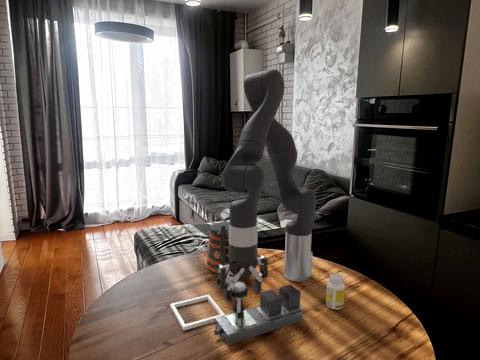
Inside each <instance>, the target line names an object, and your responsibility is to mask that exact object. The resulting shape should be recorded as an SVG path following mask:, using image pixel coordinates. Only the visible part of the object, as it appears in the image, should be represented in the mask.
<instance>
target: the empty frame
mask: <svg viewBox="0 0 480 360" xmlns="http://www.w3.org/2000/svg"><path fill="white" fill-rule="evenodd" d="M203 301H208V303H209V304H210V305H211V306H212V308H213V309H214V310H215V312H216V313H217V314H218V315H214V316H211V317H206V318H204V319H203V318H202V319H200V320H197V321H192V322H189V323H185V322H184V319H183V318H182V316H181V315H180V313H179V311H178V309H177V308H179V307H184V306H187V305H189V306H190V305H191V304H197V303H199V302H203ZM169 305H170V309H171V311H172V313H173V315H174V316H175V319H176V320H177V322H178V324H179V325H180V327H181V330H182V331H183V332H184V331H187V330H190V329H194V328H197V327H201V326H205V325H208V324H211V323H215V318H218V317H221V316H225V315H226V314H225V313H224V312H223V310H222V309H221V308H220V306H219V305H218V304H217V303H216V302H215V301H214V299H213V298H212V297H211V296H210V294H206V295H201V296H196V297H194V298H190V299H185V300H182V301H177V302H173V303H170V304H169Z"/></svg>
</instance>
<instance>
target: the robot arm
mask: <svg viewBox="0 0 480 360" xmlns="http://www.w3.org/2000/svg"><path fill="white" fill-rule="evenodd" d="M243 91H244V95H245V99H246V100H247V103H248V105H249V107H250V109H251V112H252V114H253V115H252V116H251V117H250V118H249V119H248V121H246V124H244V127H243V128H242V130H241V133H240V135H239V136H240V137H239V140H238V142H237V143H238V144H237V147H236V150H235V151H234V153H233V155H232V156H231V158H230V159H229V160H228V162H227V163H226V165H225V167H224V169H223V172H222V174H221V175H222V176H221V182H222V185H223V188H224V189H225V190H226V191H229V192H234V193H246V194H248V195H247V198H244V199H237V200H234V201H231V203H230V204H229V222H230V227H229V263H228V265H223V266H222V265H221V264H219V265H218V270H217V273H216V286H217V287H218V288H219V289H220V290H223V298H224V299H225V301H227V302H228V303H232V302H233V297H232V289H231V288H232V286H233V285H234V283H236V282H238V280H241V279H244V278H249V277H251V276H253V278H254V279H253V292H254V293H255V294H256V295H259V294H260V292H262V281H263V280H264V279H268V277H269V270H268V269H269V268H268V267H269V264H268V262H269V261H268V258H267V257H266V256H264V254H260V255H258V248H259V247H258V240H259V239H258V238H259V233H258V207H259V206H258V205H259V201H260V196H261V194H262V190H263V188H264V183H265V180H266V179H265V172H264V170H263V167H261V166H259V165H256V163H259V162H260V161H262V159H263V155H264V151H266V152H267V156H268V157H269V161H270V163H271V166H272V168H273V172H274V175H275V178H276V183H277V186H278V190H279V196H280V201H281V203H282V204H281V205H282V206H283V208H284V209H285V210H286V211H288V212H290V213H294V214H297V217H296V220H294V219H293V220H290V221H287V223H286V224H285V238H284V239H285V242H284V243H285V244H284V246H285V247H284V263H283V264H284V266H283V277H284V278H286V279H287V280H288V281H292V282H295V283H297V282H298V283H299V282H300V283H302V282H306V281H307V280H309V278H311V277H312V275H313V273H312V272H313V256H314V255H313V254H314V252H313V251H312V250H311V249H312V235H313V234H312V233H313V231H312V230H313V227H314V224H315V219H316V218H315V216H316V208H317V196H316V193H315V191H313V190H312V189H310V188H305V187H304V188H303V187H299V186H297V185H296V182H295V179H294V173H293V172H294V170H295V166H296V164H297V161H298V150H297V147H296V144H295V140H294V137H293V135H292V134H291V133H290V131H289V130H288V129H287V128H286V127H284V126H283V125H282V123H280V122H279V121H278V120H277V119H276V118H275V117H276V115H277V112H278V110H279V108H280V105H281V103H282V100H283V97H284V95H285V80H284V77H283V75H282V73H281V72H280V70H277V69H274V68H273V69H267V70H263V71H259V72H256V73H252V74H251V73H250V74H249V75H246V76H245V78H244V80H243ZM265 149H266V150H265ZM258 256H259V257H258ZM257 266H259V267H258V268H259V272H257V270H256V267H257ZM228 270H230V271H229V273H228V274H227V271H228Z"/></svg>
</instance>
